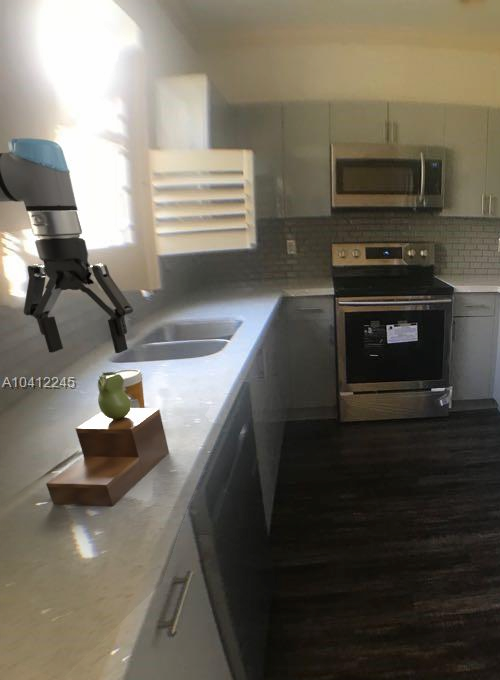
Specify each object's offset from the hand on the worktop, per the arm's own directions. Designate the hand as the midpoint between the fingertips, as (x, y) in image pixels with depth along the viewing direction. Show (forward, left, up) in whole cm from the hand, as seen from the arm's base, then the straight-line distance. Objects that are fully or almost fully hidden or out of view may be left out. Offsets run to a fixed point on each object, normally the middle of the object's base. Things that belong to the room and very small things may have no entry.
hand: (88, 351), depth 89 cm
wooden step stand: (+2, -4, -26) cm, 26 cm away
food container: (-8, +15, -26) cm, 31 cm away
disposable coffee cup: (-13, +25, -26) cm, 39 cm away
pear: (+2, +1, -15) cm, 15 cm away
